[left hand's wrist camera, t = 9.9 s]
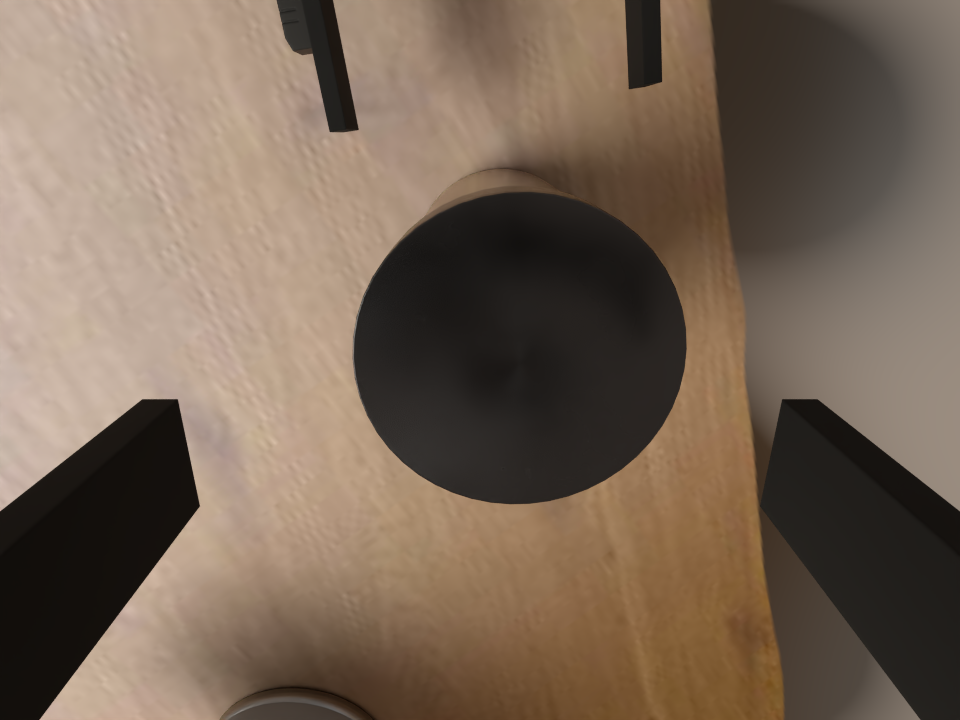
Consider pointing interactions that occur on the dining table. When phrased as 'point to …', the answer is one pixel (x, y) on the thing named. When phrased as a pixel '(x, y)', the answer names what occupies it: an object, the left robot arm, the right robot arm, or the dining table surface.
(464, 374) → the lid
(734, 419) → the dining table surface
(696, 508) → the dining table surface
